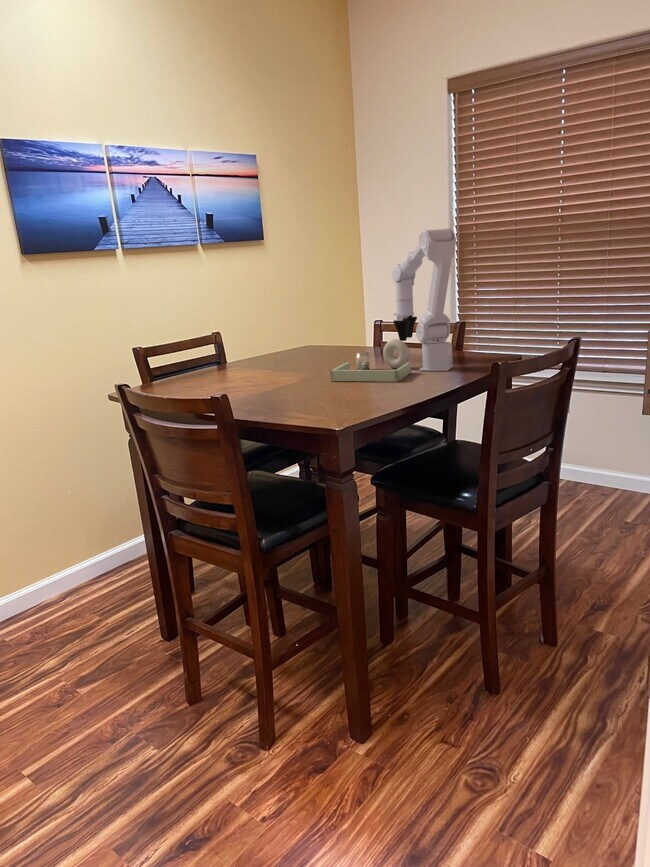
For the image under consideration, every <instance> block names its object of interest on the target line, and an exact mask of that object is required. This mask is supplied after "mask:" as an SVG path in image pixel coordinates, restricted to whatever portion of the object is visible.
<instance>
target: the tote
mask: <svg viewBox="0 0 650 867" xmlns="http://www.w3.org/2000/svg"><path fill="white" fill-rule="evenodd" d="M411 364H412V362H411V361H408V362H407V363H406V364H404V365H403V366H401V367H400V368H397V369H396V368H395V369H370V370H357V369H351V364H350V361H349V362H348V361H347V362H344V363H342V364H340V365H338V366H337V367H335V368H333V369H331V370H329V371H330V372H329V374H330V382H331V381H359V382H358V383H366V382H365V381H379V382H378V383H399V382H401V381H402V380H403V379H405V378H406V377H407V376H409V375H410V374H411V373H412V365H411ZM408 374H409V375H408ZM404 377H405V378H404ZM400 380H401V381H400ZM360 381H362V382H360ZM363 381H364V382H363Z"/></svg>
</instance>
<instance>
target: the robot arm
mask: <svg viewBox="0 0 650 867" xmlns="http://www.w3.org/2000/svg"><path fill="white" fill-rule="evenodd" d="M456 245H457V237H456V234H455V232H454V229H452V228H450V227H449V228H441V229H439V228H438V229H423V230H422V231H421V232H420V234H419V236H418V243H417V245H416V247H415V248H414V250H413V251H409V252H407V254H406V256H405V257H404V258H403V259H402V261H401V262H400V264H399V263H398V264H394V265H393V266H392V269H391V270H392V271H391V272H392V273H391V275H392V280H393V282H395V298H396V312H394V313H393V316H396V320H393V325H394V326H395V329H396V330H397V334H398V340H401V341H403V342H405V341H407V339H408V338H410V339H411V338H413V335H414V334H413V333H414V327H415V324H416V322H417V319H418V322H417V323H418V324H417V325H416V328H415V336H416V338H417V340H418V341H419V343H420V344H421V345H422V346H421V348H422V349H421V350H422V351H421V352H422V353H421V354H422V366H421V367H420V368H419V369H418V370H419V372H420V371H422V372H423V371H424V372H426V371H429V372H430V371H433V372H434V371H435V372H436V371H438V372H440V371H441V372H444V371H446V372H448V371H449V370H450V369H452V368H453V367H454V365H453V345H452V344H453V343H452V342H451V341H448V340H447V339H448V338H449V337H450V334H451V326H450V322H451V320H450V318H449V316H448V315H447V314H446V313H444V311H445V306H446V304H445V303H446V299H447V298H446V297H447V293H448V286H449V280H450V273H451V266H452V260H453V258H454V257H455V252H456ZM424 257H426V258H427V260H429V261H430V262H432V263H433V264H432V265H433V267H432V274H431V279H430V280H431V281H430V285H429V286H430V287H429V292H428V293H429V294H428V301H427V302H428V303H427V308H426V309H427V310H426V312H424V313H423V314H422V315H421V316H419V318H418V316H414V315H415V311H414V292H413V291H414V290H413V286H414V285H415V278H416V272H417V271H418V269H419V268H420V267H421V266H422V264H423V258H424Z"/></svg>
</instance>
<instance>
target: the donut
mask: <svg viewBox="0 0 650 867" xmlns="http://www.w3.org/2000/svg"><path fill="white" fill-rule="evenodd" d="M394 350H396V351H398V358H396V357H395V355H394ZM382 355H383V360H384V362H385V363H386V365H388V366H389V367H391V368H392V369H395V370H396V369H398V368H400V367H401V366H403V365H404V364H406V363H407V362H409V359H410V350H409V348H408V346H407V344H406V343H405V341H401V340H400V339H399V338H398V339H397V338H395V339H394V338H393V339H390V340H388V341H387V342H386V343H385V345H384V346H383V353H382Z"/></svg>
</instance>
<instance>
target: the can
mask: <svg viewBox="0 0 650 867" xmlns="http://www.w3.org/2000/svg"><path fill="white" fill-rule="evenodd" d="M369 355H370V353H369V352H367V351H362V352H355V363H356V364H355V366H356V368H355V369H356V370H371V369H370V356H369Z"/></svg>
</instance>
